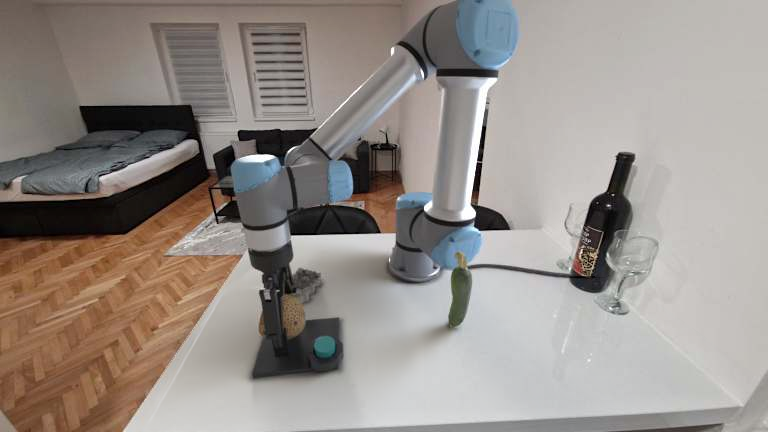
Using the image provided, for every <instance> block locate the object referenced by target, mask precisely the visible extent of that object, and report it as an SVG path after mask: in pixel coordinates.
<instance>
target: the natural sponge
mask: <svg viewBox="0 0 768 432" xmlns="http://www.w3.org/2000/svg"><path fill="white" fill-rule="evenodd" d="M282 303H283V324H284V328H286V333H287V338H288V340H289V339H292V338H294V337H296V336H297V335H299V334H300V333H301V332H302V331H303V329H304V327H305V323H306V320H307V319H306V311H305V308H304V306H303V303H302V304H301V302H300V301H299V300H298V299H297V298H296V297H294V296H292V295H289V294H284V295H283V296H282ZM260 313H261V314H260V317H259V322H258V332H259V334H260V336H261V337H262V338H263V337H264V338H266V335H265V327H264V319H263V310H261V312H260Z"/></svg>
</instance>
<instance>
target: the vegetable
mask: <svg viewBox="0 0 768 432" xmlns="http://www.w3.org/2000/svg"><path fill="white" fill-rule="evenodd" d="M457 257H458V258H457ZM455 258H457V263H458V265H459V266H458V267H456V268H455V269H454V270H451V271H452V272H451V275H450V288H451V289H450V290H451V295H452V300H451V305H450V307H449V312H448V315H447V317H448V318H447V319H448V325H449V326H450V328H451V329H453V328H456V327H459V326H460V325H461V324H462V323H463V322H464V320H465V318H466V315H467V313H468V308H469V305H470V304H469V303H470V301H471V294H472V288H473V274H472V273H471V270H470V268H467V266H468V264H467V261H466V258H465V256H464V254H463V253H461V252H457V253H456V254H455Z"/></svg>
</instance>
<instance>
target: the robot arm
mask: <svg viewBox="0 0 768 432" xmlns="http://www.w3.org/2000/svg"><path fill="white" fill-rule="evenodd" d="M519 39H520V21H519V16H518V12H517V10H516V9H515V8H514V7H513V3H512V1H511V0H453V1H450V2H447V3H444V4H442V5H438V6H436V7H434V8H432V9H431V10H429V11H428V12H427V13H425V14H424V15H423V16H422V17H421V18H420V19H419V20H418V21H417V22H416V23H415V24H414V25H413V26H412V27H411V28H410V29H409V30H408V31H407V32H406V33H405V34H404V35H403V37H401V38H400V39H399V41H397V43H396V44H395V45H393V46H392V48H391V51H390V53H391V54H390V56H389V58H387V60H385V61H384V63H382V64H381V65H380V66H379V67H378V68H377V69H376V70H375V71H374V72H373V74H371V75H370V76H369V77H368V78H367V79H366V81H365V82H363V83H362V85H360V86H359V87H358V88H356V89H357V90H355V91H354V92H353V93H352V94H351V95H350V96H349V97H348V98H347V99H346V100H345V101H344V102H343V103H342V104H341V105H340V106H339V107H338V108H337V109H336V110H335V111H334V112H333V113H332V114H330V116H329V117H328V118H327V119H326V120H325V121H324V122H323V123H322V124H321V125H320V126H319V127H318V128H316V130H315V131H314V132H313V133H312V134H311V135H310V136H309V137H308V138H307V139H306V140H304V141H303V142H302V144H301V145H298V146H297V145H296V146H293V147H292V148H290V149H289V150H288V151H287V152H286V154H285V156H284V165H283V166H282V165H281V163H280V160H279V158H278V157H277V156H275V155H271V154H252V155H246V156H242V157H239V158H237V159H235V160H234V161H233V162H232V163H231V165H230V173H231V180H232V185H233V192H234V196H235V200H236V204H237V208H238V212H239V216H240V220H241V224H242V227H241V229H240V232H241V233H243V234H244V237H245V243H246V246H247V247H248V248H247V252H248V257H249V261H250V265H251V267H252V268H253V269H254V270H257V271H259V272H260V273H262V274H261V282H262V284H263V288H259V290H258V295H259V298H260V302H261V309H262V310H263V319H264V327H265V335H266V340H270V339H272V344H273V348H274V353H275V357H281V356H290V349H289V343H288V338H287V333H286V328H284V324H283V303H282V296H283V295H284V294H289V295H291V294H293V293H296V291H297V290H298V289H297V287H294V288H292V286H294V281H293V277H292V276H293V273H292V269H291V265H290V264H291V262H292V261H293V259H294V250H293V243H292V240H291V238H292V233H291V228H290V223H289V217H288V211H290V210H297V209H303V208H308V207H309V208H310V207H315V206H323V205H327V204H328V205H329V204H332V205H333V204H334V205H335V204H336V203H339V202H344V201H347V200H349V199H351V197H352V195H353V191H354V181H353V180H354V179H353V175H352V171H351V168H350V166H349V164H348V163H347V162H346V161H345V160H339V159H340V158H341V157H342V156H343V155H344V154H345V153H347V151H348V150H349V149H350V148H351V147H353V145H354V144H356V142H357V141H358V140H359V139H361V137H363V136H364V135H365V133H366V132H368V130H370V128H372V127H373V125H375V124H376V123H377V122H378V121H379V120H380V119H381V117H383V116H384V115H385V114H386V113H387V112H388V111H389V110H390V108H392V107H393V106H394V105H395V104H396V103H397V102H398V101H399V100H400V99H401V98H402V97H403V96H404V95H405V94H406V93H407V92H408V91H409V90H410V89H411V88H412V87H413V86H414V85H415V86H416V85H417V86H418V85H422V84H423V83H424V81H426V79H428V78H429V77H430V76H433V75H434V74H435V80H436V81H437V82H438V84H439V85H440V86H441V90H442V91H441V102H440V110H439V111H440V112H439V120H438V129H437V131H438V132H437V141H436V142H437V143H436V151H435V162H434V171H433V181H432V182H433V183H432V192H429V191H412V192H407V193H403V194H401V195H400V196H398V197H397V198H396V203H395V209H394V210H395V244H394V247H392V251H391V254H390V257H389V260H388V269H389V271H390V273H391V275H393V276H394V277H395V278H397V279H399V280H401V281H404V282H408V283H426V282H429V281H432V280H434V279H436V278H437V277H438V276H439V274H440V273H441V269H444V270H448V271H453V270H454V269H455V268H456V267H458V266H459V265H458V263H457V258H458V257H457V258H455V254H456V253H457V252H461V253H463V254H464V256H465V258H466V261H467V268H468V269H472V268H473V269H474V268H481V267H486V268H487V267H489V268H501V269H502V268H503V269H511V270H518V271H524V272H531V273H536V274H537V273H538V274H544V275H550V276H558V277H559V276H560V277H572V278H574V277H573V276H572V275H571V274H572V273H566V272H565V273H564V272H556V271H555V272H554V271H549V270H548V271H547V270H541V269H535V268H527V267H522V266H521V267H520V266H514V265H506V264H495V263H477V264H471V265H469V264H470V263H471V262H472V261H473V260H474V259H475V258H476V257H477V255H478V254H479V252H480V250H481V249H482V246H483V235H482V233H481V232H480V230H479V229H478V228H476V227H475V221H476V220H475V219H476V213H477V212H476V210H475V209H474V207H473V206H472V205H471V201H472V193H473V187H474V181H475V175H476V173H475V172H476V167H477V161H478V156H479V155H478V154H479V147H480V141H481V136H482V127H483V121H484V114H485V110H486V109H485V108H486V101H487V95H488V90H489V89H490V88H491V86H493V85H494V84H495V83H496V82H497V81H498V80H499V79H498V78H499V72H500V68H501V67H503V66H504V65H505V64H507V63H508V62H509V60H510V59H511V57H512V56H514V54H515V52H516V49H517V47H518V43H519ZM292 296H293V295H292ZM262 310H261V311H262Z"/></svg>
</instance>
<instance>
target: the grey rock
mask: <svg viewBox="0 0 768 432" xmlns="http://www.w3.org/2000/svg"><path fill="white" fill-rule="evenodd" d="M292 277H293V281H294V286H292V288H298V287H299V288H298V289H296V290H297V291H296V293H293V294H291V295H293V296H294V297H296V298H297V299H298V300H299V301H300V302H301V304H302V305H303V304H304V303H307V302H308V301H309V300H310V296H309V295H311V294H312V295H313V294H314V293H315V290H316V289H315V287H319V286H320V285H321V282H320V280H321V277H322V273H321V272H316V270H311V269H304V268H303V267H298V268H297V269H296V271H295V272H294V273H292Z"/></svg>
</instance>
